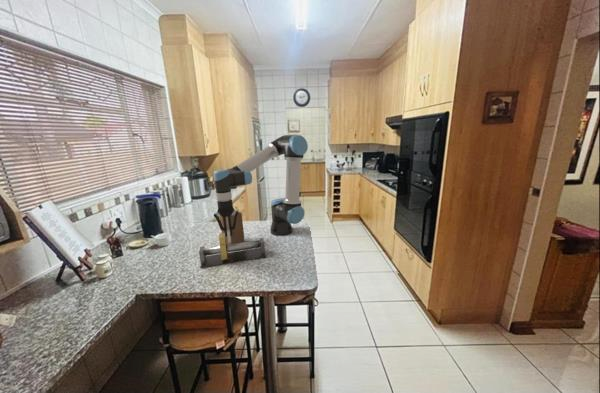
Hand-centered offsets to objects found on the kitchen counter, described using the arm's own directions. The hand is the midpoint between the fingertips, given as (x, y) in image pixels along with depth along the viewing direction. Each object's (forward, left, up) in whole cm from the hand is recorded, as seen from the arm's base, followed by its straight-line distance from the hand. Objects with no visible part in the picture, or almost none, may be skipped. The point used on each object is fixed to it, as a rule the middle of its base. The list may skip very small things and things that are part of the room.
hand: (229, 241), depth 135 cm
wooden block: (-1, -20, -10) cm, 23 cm away
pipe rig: (-1, 0, -10) cm, 10 cm away
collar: (+3, 0, -8) cm, 9 cm away
